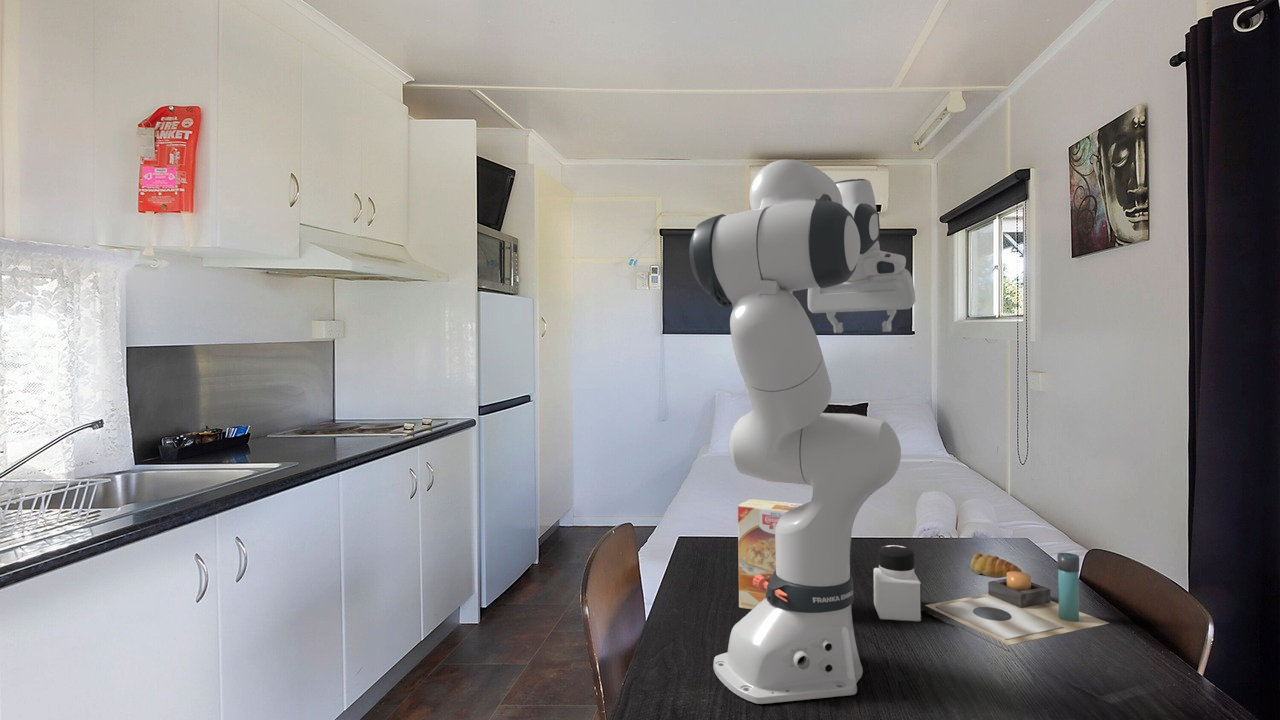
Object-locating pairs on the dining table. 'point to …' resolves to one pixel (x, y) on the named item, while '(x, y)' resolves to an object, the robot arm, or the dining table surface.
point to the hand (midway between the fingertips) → (862, 331)
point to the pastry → (992, 566)
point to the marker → (1068, 586)
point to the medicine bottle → (897, 585)
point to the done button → (1019, 580)
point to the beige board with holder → (1012, 614)
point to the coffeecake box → (757, 545)
